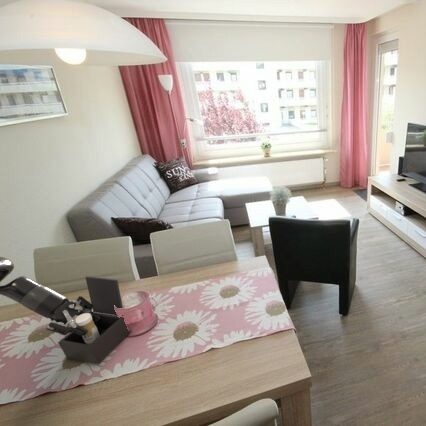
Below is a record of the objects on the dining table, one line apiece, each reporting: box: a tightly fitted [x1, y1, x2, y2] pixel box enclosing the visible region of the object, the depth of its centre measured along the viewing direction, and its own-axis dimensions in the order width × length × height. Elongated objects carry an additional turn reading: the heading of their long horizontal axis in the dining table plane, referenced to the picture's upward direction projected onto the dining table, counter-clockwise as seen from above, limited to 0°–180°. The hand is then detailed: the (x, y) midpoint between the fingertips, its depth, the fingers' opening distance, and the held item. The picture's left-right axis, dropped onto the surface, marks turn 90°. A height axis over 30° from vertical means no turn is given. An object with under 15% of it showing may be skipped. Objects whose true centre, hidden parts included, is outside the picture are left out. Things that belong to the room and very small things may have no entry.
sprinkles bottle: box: [73, 313, 100, 345], centre depth 102 cm, size 5×5×14 cm
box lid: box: [85, 275, 124, 317], centre depth 107 cm, size 14×13×1 cm
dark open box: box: [57, 312, 131, 365], centre depth 105 cm, size 14×13×8 cm
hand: (92, 326), depth 101 cm, fingers open, 5 cm apart
